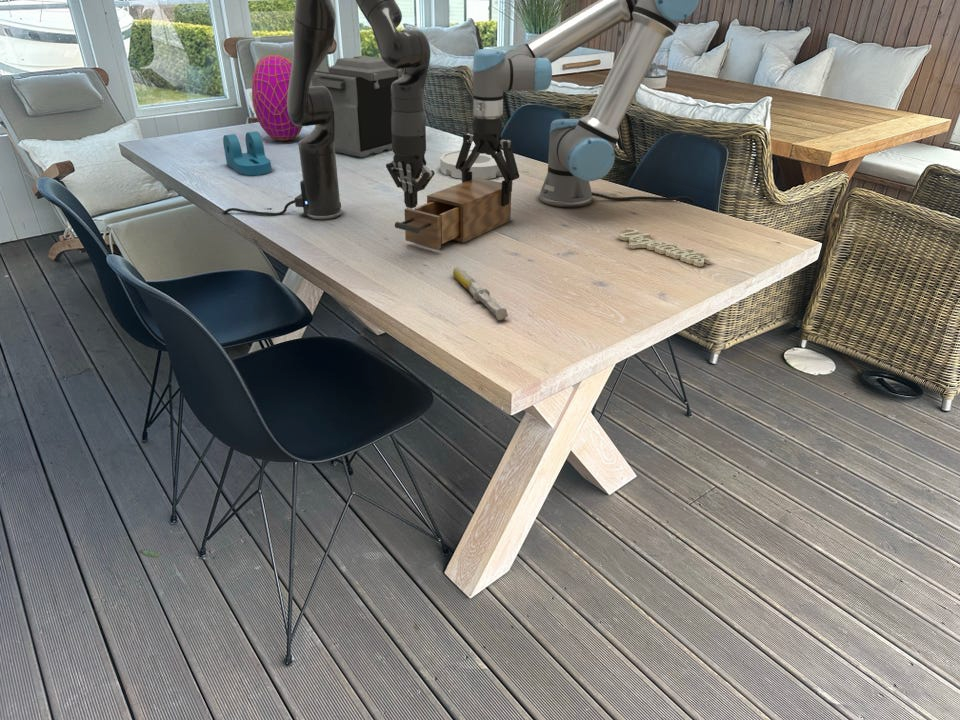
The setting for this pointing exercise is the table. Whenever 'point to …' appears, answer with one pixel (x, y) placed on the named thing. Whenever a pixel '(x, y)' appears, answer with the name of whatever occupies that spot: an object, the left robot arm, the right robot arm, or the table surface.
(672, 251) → the decorative sign
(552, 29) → the right robot arm
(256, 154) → the camera mount
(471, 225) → the cabinet
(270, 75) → the decorative egg
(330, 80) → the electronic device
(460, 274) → the syringe
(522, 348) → the table surface
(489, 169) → the ashtray
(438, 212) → the drawer
